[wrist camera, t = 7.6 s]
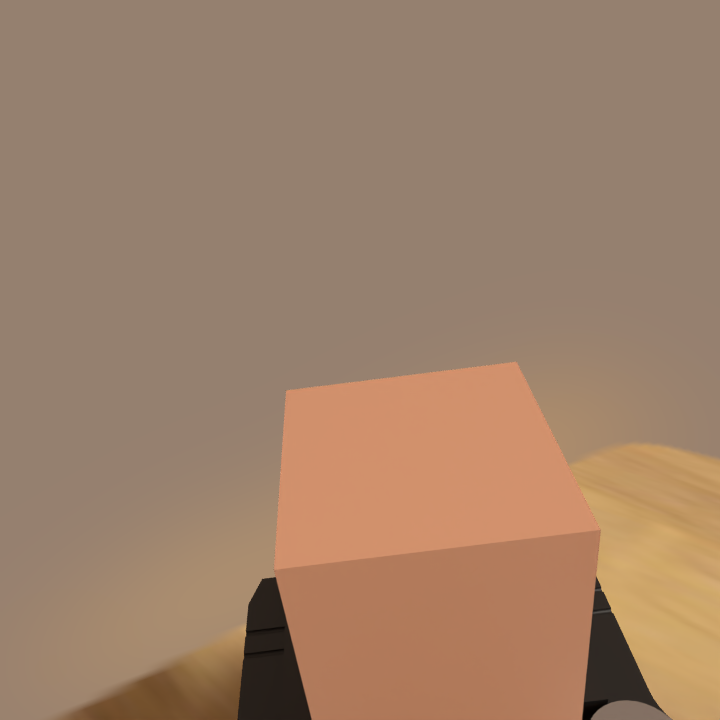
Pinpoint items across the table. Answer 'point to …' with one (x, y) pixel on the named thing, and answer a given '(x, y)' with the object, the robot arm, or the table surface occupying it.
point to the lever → (433, 551)
